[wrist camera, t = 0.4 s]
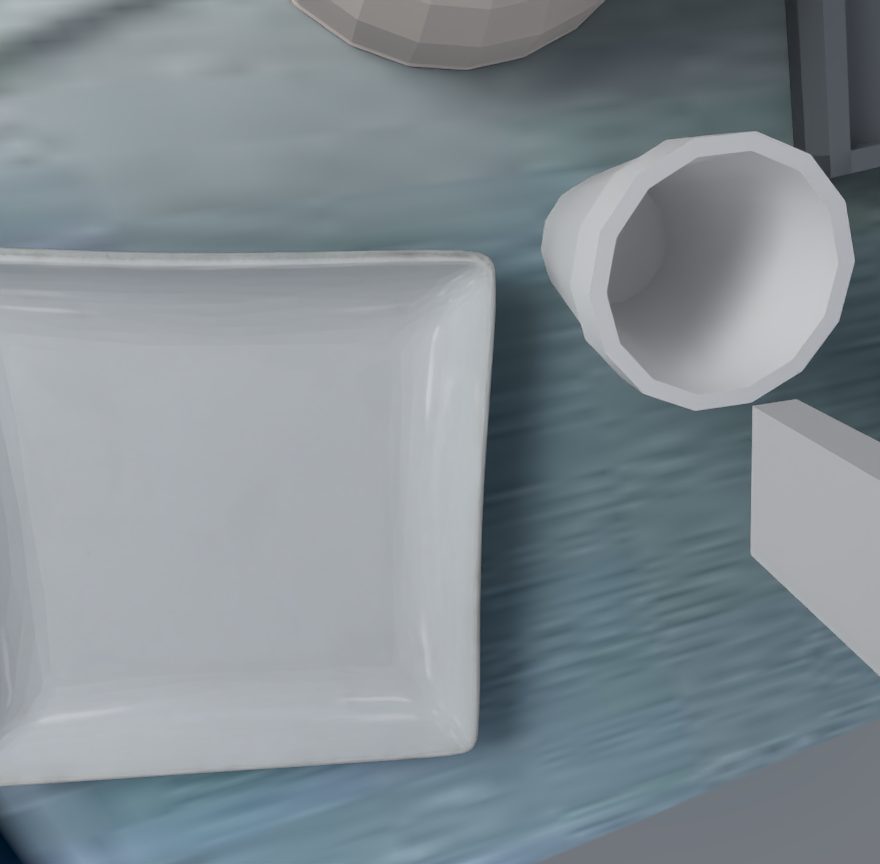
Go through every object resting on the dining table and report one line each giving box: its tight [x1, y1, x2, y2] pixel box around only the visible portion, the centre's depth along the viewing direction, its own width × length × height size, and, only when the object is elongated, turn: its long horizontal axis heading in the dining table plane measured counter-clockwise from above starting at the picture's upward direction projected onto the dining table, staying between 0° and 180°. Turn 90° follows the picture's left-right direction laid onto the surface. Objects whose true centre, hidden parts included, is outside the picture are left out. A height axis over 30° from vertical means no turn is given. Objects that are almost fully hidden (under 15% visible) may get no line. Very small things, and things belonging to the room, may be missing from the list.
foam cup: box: [541, 131, 855, 411], centre depth 34 cm, size 10×9×13 cm
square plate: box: [0, 247, 496, 786], centre depth 41 cm, size 27×27×4 cm
